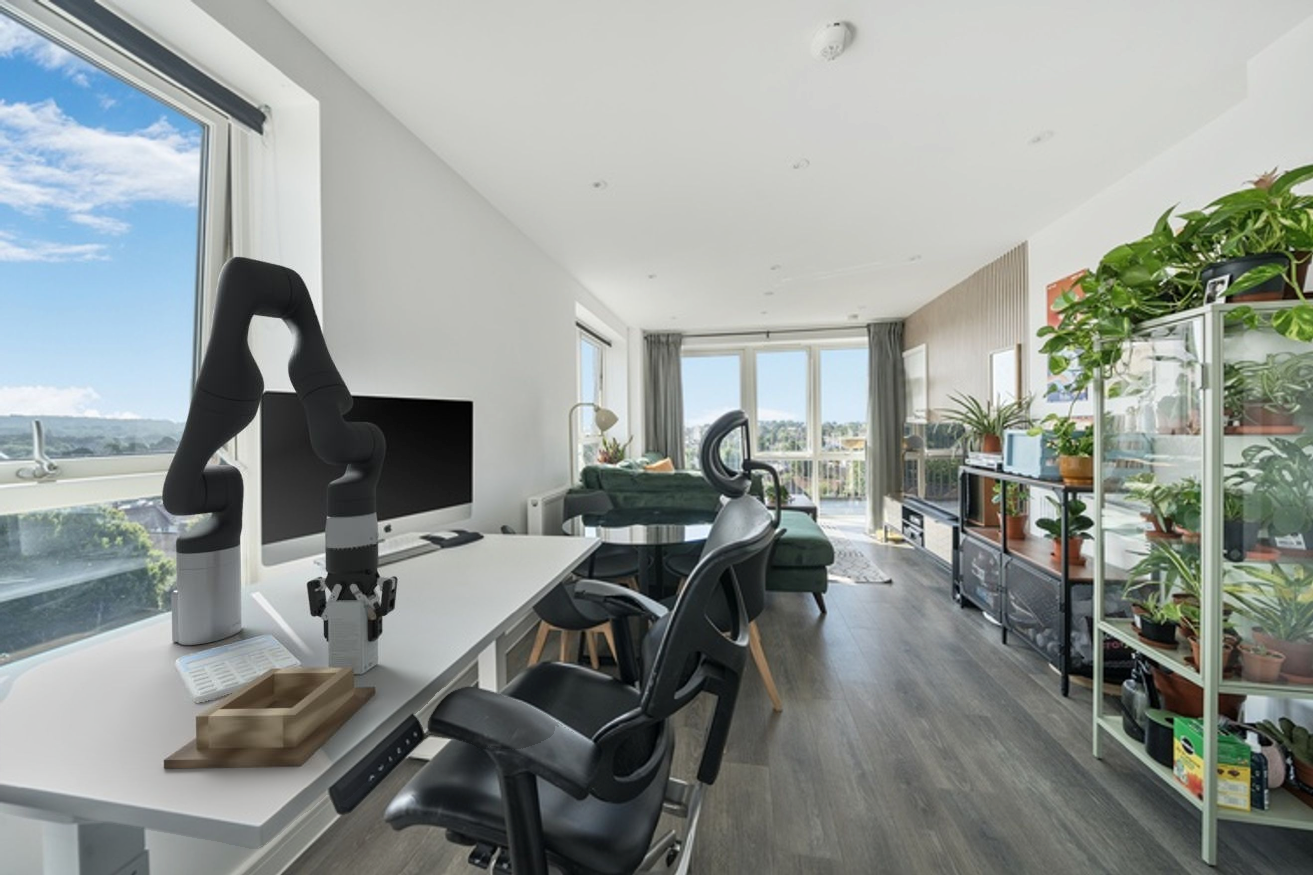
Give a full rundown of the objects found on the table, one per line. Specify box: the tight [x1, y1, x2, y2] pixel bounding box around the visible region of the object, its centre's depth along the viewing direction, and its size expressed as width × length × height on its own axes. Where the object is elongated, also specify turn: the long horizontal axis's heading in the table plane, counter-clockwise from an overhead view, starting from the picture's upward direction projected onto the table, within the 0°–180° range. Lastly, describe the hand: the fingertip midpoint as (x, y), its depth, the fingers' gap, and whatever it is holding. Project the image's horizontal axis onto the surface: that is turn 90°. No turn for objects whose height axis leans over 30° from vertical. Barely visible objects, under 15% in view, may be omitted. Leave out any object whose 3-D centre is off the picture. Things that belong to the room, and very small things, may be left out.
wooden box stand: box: [163, 667, 376, 769], centre depth 66 cm, size 16×16×5 cm
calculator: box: [174, 634, 303, 704], centre depth 82 cm, size 13×20×2 cm, turn 51°
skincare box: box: [328, 595, 379, 675], centre depth 82 cm, size 6×4×12 cm
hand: (353, 639), depth 82 cm, fingers closed on skincare box, 6 cm apart
